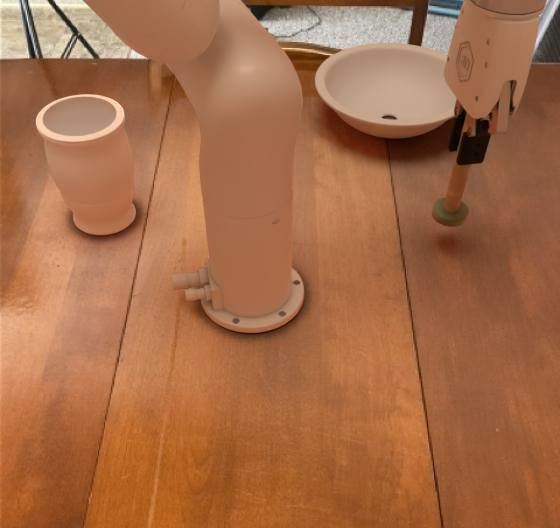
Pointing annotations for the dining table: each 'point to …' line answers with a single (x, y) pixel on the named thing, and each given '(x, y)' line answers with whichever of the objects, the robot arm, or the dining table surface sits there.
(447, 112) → the beige sink basin
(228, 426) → the dining table surface
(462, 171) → the stamp with round base
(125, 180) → the jar
